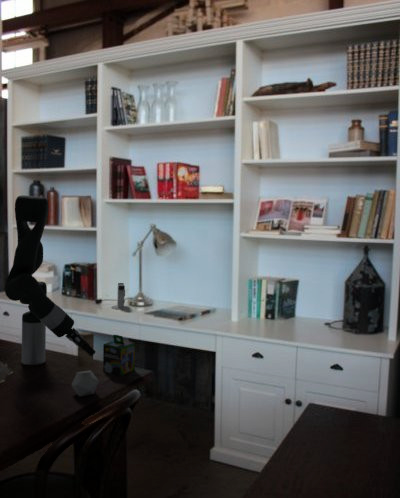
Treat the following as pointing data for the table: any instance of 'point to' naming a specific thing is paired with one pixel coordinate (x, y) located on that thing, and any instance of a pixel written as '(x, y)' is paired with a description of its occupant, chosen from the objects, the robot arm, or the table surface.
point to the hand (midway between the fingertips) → (90, 351)
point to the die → (85, 383)
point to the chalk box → (118, 356)
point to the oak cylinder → (83, 356)
